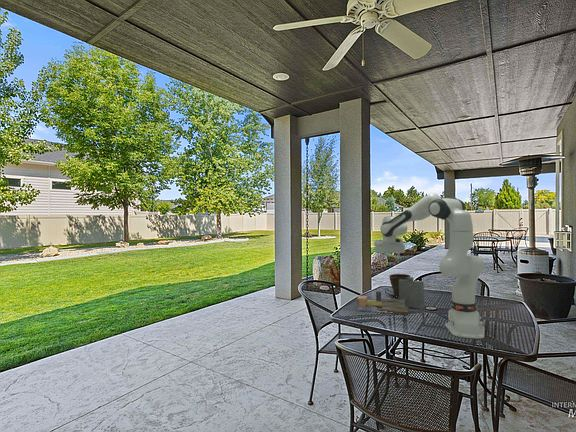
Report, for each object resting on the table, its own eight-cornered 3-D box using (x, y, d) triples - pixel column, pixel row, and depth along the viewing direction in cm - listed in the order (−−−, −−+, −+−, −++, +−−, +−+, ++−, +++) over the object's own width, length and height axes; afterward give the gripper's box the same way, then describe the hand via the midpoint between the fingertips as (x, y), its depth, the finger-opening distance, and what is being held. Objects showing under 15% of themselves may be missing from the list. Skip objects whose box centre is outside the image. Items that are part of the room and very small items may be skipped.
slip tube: (386, 306, 203) (386, 292, 203) (361, 305, 209) (361, 291, 209) (387, 305, 206) (386, 291, 206) (362, 303, 212) (362, 290, 212)
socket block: (366, 307, 207) (365, 298, 207) (357, 307, 209) (357, 298, 209) (367, 304, 213) (367, 296, 213) (359, 304, 215) (359, 295, 215)
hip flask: (425, 307, 207) (423, 277, 206) (424, 309, 203) (422, 278, 203) (400, 304, 215) (399, 275, 215) (398, 306, 212) (397, 276, 212)
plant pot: (388, 298, 230) (387, 277, 230) (392, 293, 244) (391, 273, 243) (410, 300, 223) (409, 278, 223) (412, 295, 237) (411, 274, 237)
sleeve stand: (408, 314, 193) (407, 304, 193) (356, 310, 205) (355, 300, 205) (408, 308, 206) (408, 298, 206) (359, 304, 218) (359, 295, 218)
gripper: (373, 240, 219) (374, 259, 219) (404, 239, 211) (405, 260, 211) (374, 239, 224) (375, 258, 224) (404, 239, 217) (405, 258, 217)
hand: (390, 259), depth 218 cm, fingers open, 8 cm apart
